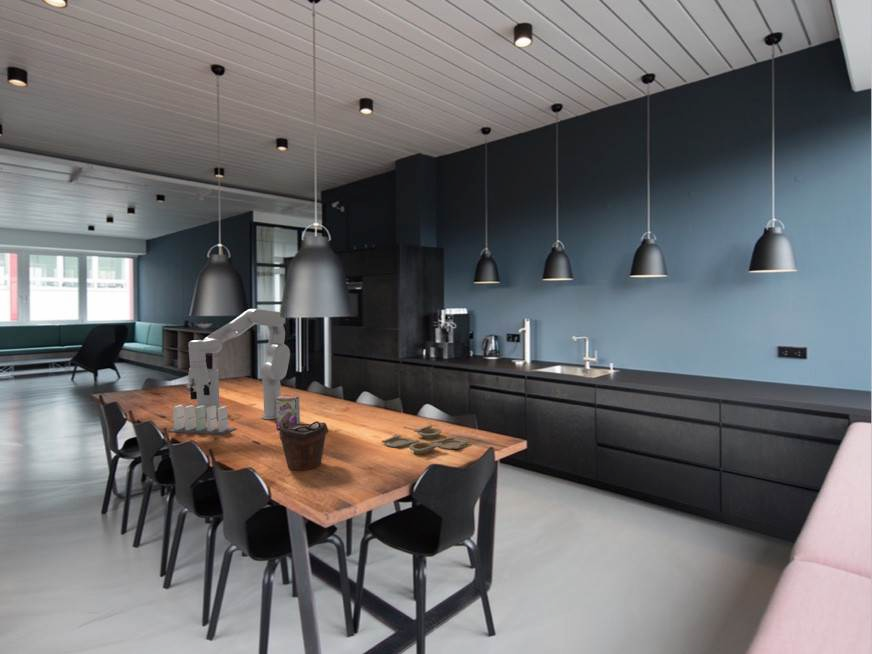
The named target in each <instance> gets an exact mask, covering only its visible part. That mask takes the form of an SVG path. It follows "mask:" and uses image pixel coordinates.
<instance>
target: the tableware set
mask: <svg viewBox="0 0 872 654" xmlns="http://www.w3.org/2000/svg"><path fill="white" fill-rule="evenodd" d="M412 431H413V432H415V433H417V434H418V435H419V436H421V437H422V439H425V440H426V439H427V440H432V441H430V442H429V441H421V440H419V439H415V440H414V439H413V438H410V437H406V436H405V437H403V436H402V435H401V434H394V435H393V436H391V437H388V438H387V439H383V440H381V443H382V444H384V445H385V446H386V447H387V448H388V447H390V448H405V447H408V448H409V450H411V451H413V452H414V453H415V454H416V455H428V454H430V453H431V452H432V451H433V450H435V449H436V448H441V449H443V450H444V449H445V450H459V449H463V448H465V447H466V446H467V444H469V443H470V440H465V441H464V440H462V439H456V438H455V437H454V436H451V437H447V438H446V437H445V438H441V439H436V438H437V437H438V435H440V434H442V430H441V429H440V428H435V427H433V424H429V425H427V426H424V427H421V428H416V429H413V430H412ZM433 439H434V440H433ZM435 439H436V440H435Z"/></svg>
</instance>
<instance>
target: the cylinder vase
mask: <svg viewBox="0 0 872 654" xmlns="http://www.w3.org/2000/svg"><path fill="white" fill-rule="evenodd" d="M207 370H208V377H210V378H211V384H210V387H209V390H210V395H204V390H203V388H205V387H204V386H200V387H197V389H196V392H197V399H196V407H199V406H205V414H206V408H208V407H211V406H216V413H218V411H217V408H220V407H221V403H220V402H221V401H220V400H221V399H220V381H219V380H220V379H219V369H218V368H217V369H216V368H207Z"/></svg>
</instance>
